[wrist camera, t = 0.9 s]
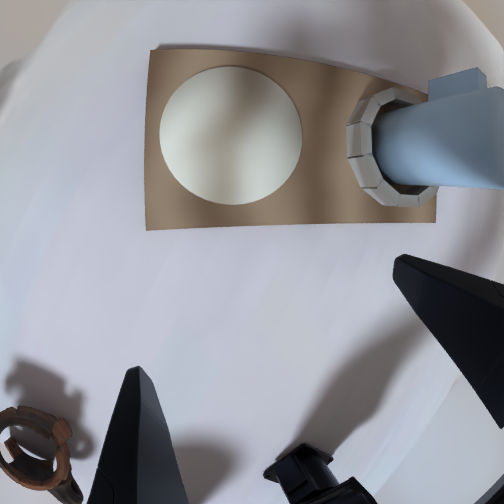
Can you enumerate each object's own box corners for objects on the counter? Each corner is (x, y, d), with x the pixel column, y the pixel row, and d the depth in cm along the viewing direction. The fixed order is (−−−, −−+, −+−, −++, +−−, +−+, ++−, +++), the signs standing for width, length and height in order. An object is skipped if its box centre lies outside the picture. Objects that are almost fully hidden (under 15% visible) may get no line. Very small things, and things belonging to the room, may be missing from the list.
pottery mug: (-11, 418, 19) (-36, 436, 12) (43, 378, 24) (27, 387, 18) (61, 500, 20) (57, 535, 13) (115, 462, 25) (123, 493, 18)
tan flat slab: (424, 97, 25) (445, 92, 22) (428, 221, 27) (450, 225, 24) (150, 55, 18) (149, 37, 15) (147, 229, 21) (143, 234, 18)
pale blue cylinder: (413, 193, 25) (525, 202, 14) (359, 173, 23) (485, 170, 12) (421, 108, 24) (524, 89, 12) (371, 80, 22) (479, 39, 11)
